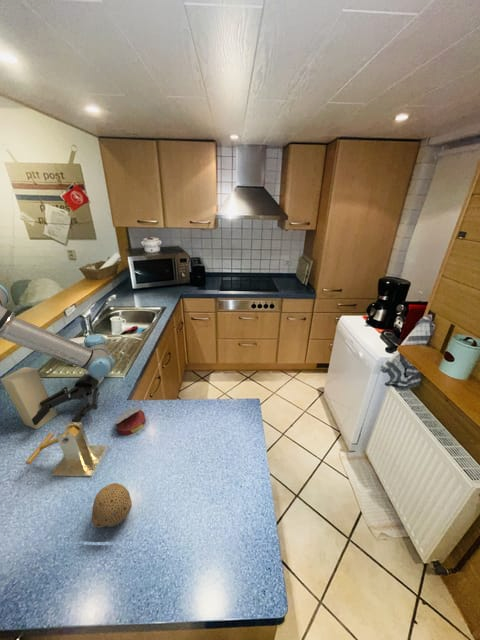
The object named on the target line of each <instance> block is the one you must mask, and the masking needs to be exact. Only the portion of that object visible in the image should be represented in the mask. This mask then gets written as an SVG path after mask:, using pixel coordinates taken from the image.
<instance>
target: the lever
mask: <svg viewBox="0 0 480 640" xmlns="http://www.w3.org/2000/svg"><path fill="white" fill-rule="evenodd" d="M78 432H79V431H78V430H77V429H76V428H75V427H74V426H73V427H71V428H69V429H67V428H66V430H65V431H64V433H68V434H74V437H76V435H77V434H78ZM54 435H55V434H54V433H53V432H49V434H48V435H47V436H46V437H45V438H44V439H43V440H42V442H41V443H40V444H39V445H38V447H36V449H35V450H34V451H33V453H31V455H30V456H29V457H28V458H27V460H26V461H25V464H26V465H28V466H29V465H32V463H33V462H34V461H35V459H36V458H37V457H38V456H39V454H40V453H41V452H42V451H43V450H45V449H47V448H48V447H51V446H53V445H55V444H57V443H59V442H58V439H57V437H55V438H53V437H54Z"/></svg>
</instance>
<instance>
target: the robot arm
mask: <svg viewBox="0 0 480 640" xmlns="http://www.w3.org/2000/svg"><path fill="white" fill-rule="evenodd" d="M9 299H10V297H9V293H8V290H7V289H6V288H5V287H4V286H3V284H0V339H1V340H4V341H7V342H10V343H12V344H15V345H17V346H21V347H23V348H26V349H28V350H31V351H35V352H38V353H40V354H43V355H45V356H48V357H51V358H54V359H56V360H59V361H61V362H65V363H67V364H70V365H72V366H73V365H75V366H74V367H78V368H81V369H83V370H86V371H85V372H84V373H83V374H82V375H81V376H80V378H78V379H77V380H76V382H75V383H74V386H73V387H71V388H68V386H63V388H61V389H60V390H58V391H57V392H55V393H53V394H52V395H49V397H48V398H47V399H45V400H43V401H42V402H40V405H41V407H42V408H41V409H40V410H39V411H38V412H37V414H36V415H35V416H34V417H33V418H32V421H33V424H34V425H37V424H38V423H39V422H40V421H41V420H42V419H43V418H44V417H45V415H46V414H47V413H48V412H49V411H50V410H49V409H51V408H53V407H54V408H55V407H57V406H59V405H61V404H64V403H65V402H70V401H72V400H83V401H84V404H85V405H82V407H80V409H79V410H78V411H77V413H76V414H75V415H74V417H73V418H72V419H71V422H77V423H81V422H80V421H81V420H82V419H83V418H85V417H86V416H87V415H88V413H89V412H90V411H92V410H93V411H95V410H98V403H99V395H100V393H101V391H100V389H99V385H101V383H102V381H103V380H104V379H105V378H106V377H107V375H108V374H109V373H110V372H111V371H112V369H113V368H114V366H115V364H116V361H115V358H113V356H112V355H110V354H109V353H108V348H107V343H106V340H105V337H104V336H103V335H102V334H99V333H97V334H91V335H88V336H87V337H86V336H85V339H84V344H85V346H83V345H80V344H78V343H76V342H73V341H71V340H69V338H66V337H64V336H62V335H60V334H57V333H54V332H52V331H49V330H48V329H46V328H43V327H40V326H38V325H35V324H33V323H31V322H28V321H26V320H24V319H21V318H19V317H17V316H16V315H15V313H14V311H11V310H8V309H7V308H6V306H7V305H8V303H9ZM90 395H92V397H91V398H92V399H91V402H90V401H89V398H88V396H90Z"/></svg>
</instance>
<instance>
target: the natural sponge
mask: <svg viewBox="0 0 480 640" xmlns="http://www.w3.org/2000/svg"><path fill="white" fill-rule="evenodd" d="M130 494H131V493H130V492H129V490H128V489H127V488H126V486H125V485H123V484H121V483H117V482H114V483H113V482H112V483H110V484H108V485H105V486H104V487H102V488H101V489H100V490H99V491H98V492H97V494H96V495H95V498H94V500H93V503H92V510H91V523H92V525H93V526H94V527H96V528H104V527H108V528H109V527H111V528H112V527H115V526H118V525H119V524H121V523H122V522H123V521H124V520H125V519H126V518H127V517H128V515H129V514H130V512H131V510H132V506H133V505H132V504H133V502H132V499H131V495H130Z"/></svg>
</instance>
